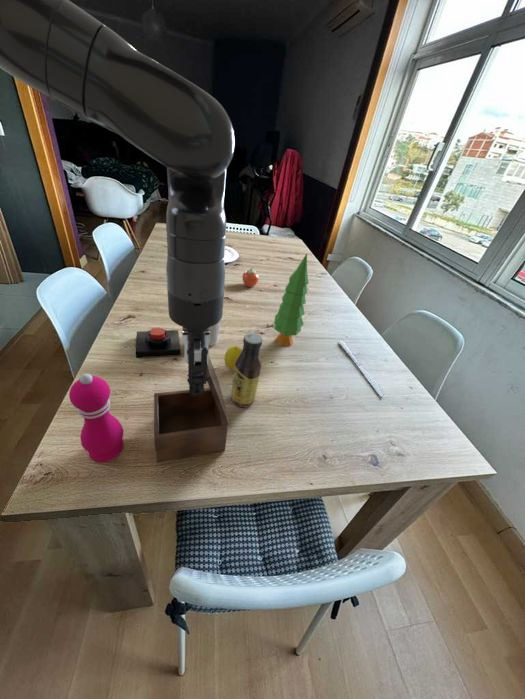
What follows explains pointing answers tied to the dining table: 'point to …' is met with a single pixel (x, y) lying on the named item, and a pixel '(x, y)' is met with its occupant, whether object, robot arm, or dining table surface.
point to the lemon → (232, 356)
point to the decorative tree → (292, 305)
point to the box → (187, 425)
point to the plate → (230, 255)
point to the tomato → (250, 278)
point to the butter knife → (362, 369)
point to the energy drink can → (214, 334)
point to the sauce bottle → (247, 371)
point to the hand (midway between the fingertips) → (195, 375)
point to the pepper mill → (97, 418)
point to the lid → (216, 391)
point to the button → (157, 333)
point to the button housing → (157, 344)
